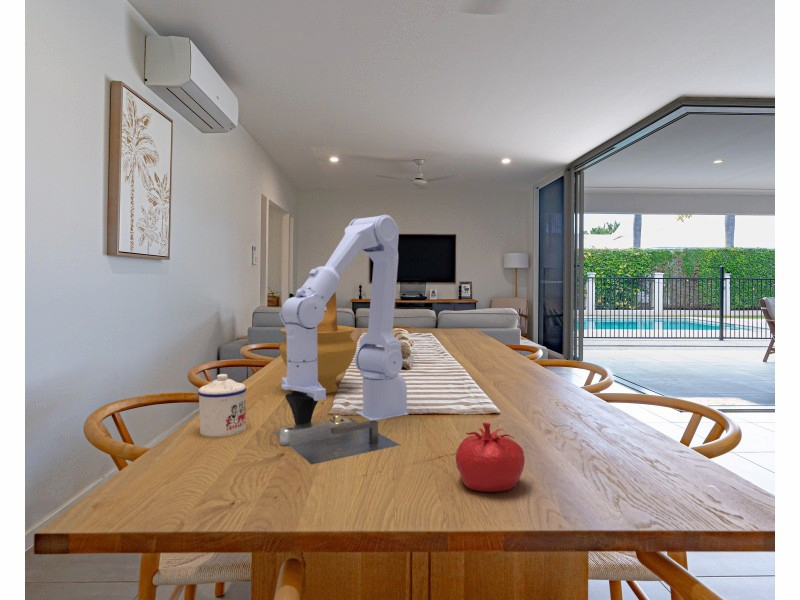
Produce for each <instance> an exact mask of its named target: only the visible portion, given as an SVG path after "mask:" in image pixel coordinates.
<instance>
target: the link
mask: <svg viewBox="0 0 800 600" xmlns="http://www.w3.org/2000/svg"><path fill="white" fill-rule="evenodd" d="M348 419H349V418H346V417H344V416H343V415H341V422H337V423H333V417H329V418H324V419H323V418H322V419H321V420H317V421H311V423H305V424H299V425H296V424H294V425H289V426H284V427H281V428H279V431H280V437H279V445H280V446H289V447H290V445H295V444H301V443H306V442H311V441H316V440H321V439H327V438H330V439H333V438H338V437H344V436H349V435H352V431H350V432H345V433H340V434H335V435H334V434H332V433H331V428H333V427H339V426H344V425H350V424H352V421H350V420H348Z"/></svg>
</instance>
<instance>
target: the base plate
mask: <svg viewBox="0 0 800 600" xmlns="http://www.w3.org/2000/svg"><path fill="white" fill-rule="evenodd" d="M347 419H348V420H350V421H352V424H355V423H360V421H357V420H355V419H353V418H347ZM273 433H274V434H275V435H276V436H277V437H279V438H280V430H275V431H273ZM397 446H401V444H400V443H398V442H396V441H395V440H392V439H391V438H388V437H387V436H385V435H383V434H381V433H379V432H378V442H377V443H371V442H369V428H366V429H361V430H356V431H352V435H349V436H344V437H338V438H333V439H330V438H327V439H321V440H316V441H311V442H306V443H301V444H295V445H290V446H289V447H290V448H291V449H293V450H294V451H295V452H296V453H297V454H298V455H299V456H301V457H302V458H303V459H304V460H305V461H306V462H308V463H309V464H310V465H315V464H322V463H326V462H330V461H334V460H338V459H344V458H348V457H352V456H353V457H354V456H356V455H362V454H367V453H370V452H375V451H379V450H384V449H388V448H389V449H390V448H394V447H397Z"/></svg>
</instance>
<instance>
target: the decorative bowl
mask: <svg viewBox="0 0 800 600" xmlns="http://www.w3.org/2000/svg"><path fill="white" fill-rule="evenodd" d="M325 308H326V311H325V312H324V317H323V320H322V322H320V323H319V324H318V325H317V359H318V382H319V383H320V385H321V386H322V387H323V388H325V389H326V394H330V393H334V392H337V391H338V390H339V388H338V385H337V384H336V379H337V377H338V376H339V375H340V374H343V373H344V372H346V370H347V371H348V369H349V368H350V366H351V365H352V362H353V360H354V359H355V356H356V353H357V343H356V341H355V340H354V339H353V338H352V337H351V335H352V334H353V333H354V331H355V330H356V327H354V326H347V325H339V324H338V310H337V293H336V291H335V292H334V294H333V295H332V296H331V298H330V299H329V301H328V302H327V303H326V307H325ZM280 331H281V332H282V333H283V335H284V336H285V339H284V340H283V341H282V342H281V344H280V345H279V348H278V349H279V354H280V357H281V359H282V361H283V363H284V365H285V366H286V368H287V334H286V332H285V327H283V328H280ZM337 389H338V390H337Z"/></svg>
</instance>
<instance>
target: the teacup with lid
mask: <svg viewBox="0 0 800 600" xmlns="http://www.w3.org/2000/svg"><path fill="white" fill-rule="evenodd" d="M246 387H247V386H246V385H245V384H244V383H242V382H237V381H235V380H233V379H232V378H229V376H228V374H227V373H220V374H218V375H216V379H214V380H212V381H210V382H209V383H207V384H205V385H202V386H201V387H200V388H198V391H197V394H198V400H199V401H198V402H199V408H198V409H199V434H200V435H202V436H204V437H205V436H206V437H212V438H213V437H214V438H215V437H216V438H217V437H226V436H232V435H236V434H239V433H241V432H244V431H245V430H246V428H247V424H246V422H247V421H246V420H247V419H246V418H247V417H246V415H247V414H246V413H247V411H246V409H247V408H246V407H247V406H246V392H247V388H246Z"/></svg>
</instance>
